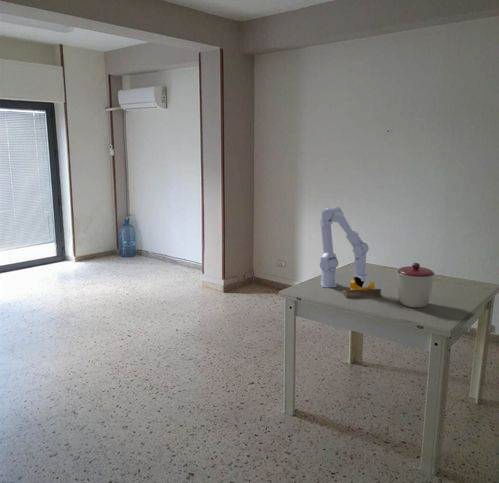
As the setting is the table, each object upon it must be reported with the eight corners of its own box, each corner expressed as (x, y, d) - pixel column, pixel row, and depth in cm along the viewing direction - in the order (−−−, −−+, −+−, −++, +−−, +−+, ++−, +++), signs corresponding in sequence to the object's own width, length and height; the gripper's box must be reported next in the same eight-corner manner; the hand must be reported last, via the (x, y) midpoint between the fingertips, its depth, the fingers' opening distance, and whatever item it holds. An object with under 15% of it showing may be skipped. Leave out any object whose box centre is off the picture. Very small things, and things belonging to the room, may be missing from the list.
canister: (397, 310, 230) (399, 267, 226) (391, 298, 247) (393, 258, 243) (437, 311, 227) (440, 268, 223) (428, 299, 245) (431, 259, 241)
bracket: (342, 293, 255) (343, 286, 254) (376, 293, 256) (376, 285, 255) (346, 297, 249) (346, 290, 248) (380, 296, 250) (380, 289, 249)
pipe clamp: (350, 294, 254) (349, 284, 250) (351, 289, 257) (351, 279, 254) (373, 297, 249) (373, 286, 246) (374, 292, 253) (374, 282, 250)
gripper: (371, 269, 247) (370, 294, 250) (363, 262, 261) (362, 286, 264) (358, 269, 246) (357, 295, 249) (350, 262, 261) (349, 286, 263)
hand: (359, 290), depth 256 cm, fingers closed, pressing on pipe clamp
